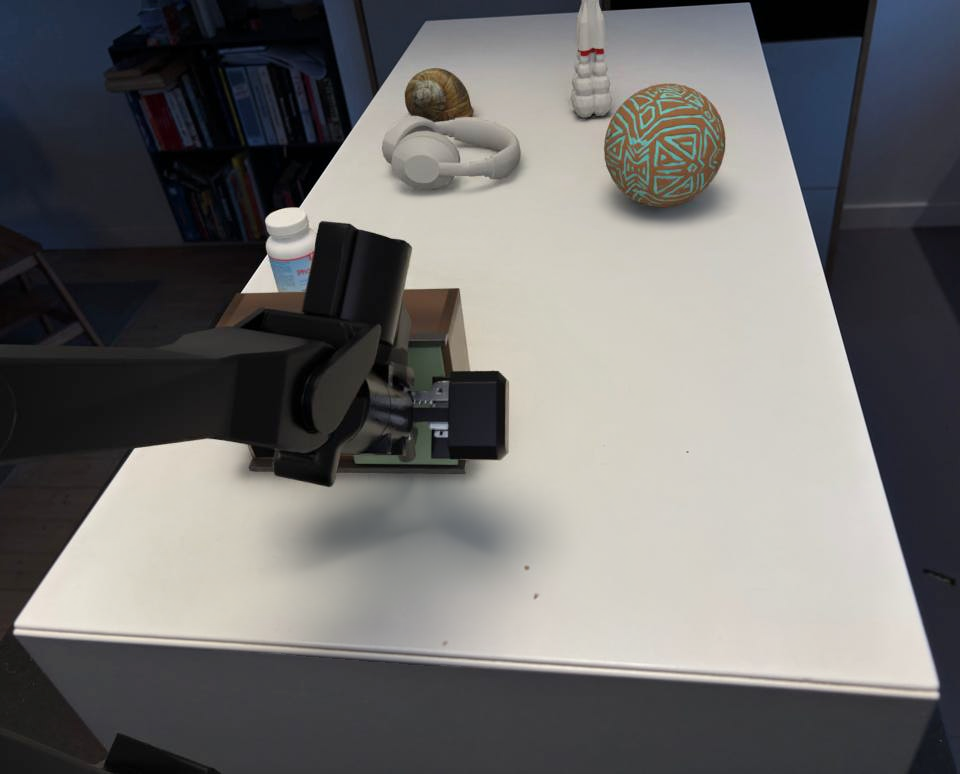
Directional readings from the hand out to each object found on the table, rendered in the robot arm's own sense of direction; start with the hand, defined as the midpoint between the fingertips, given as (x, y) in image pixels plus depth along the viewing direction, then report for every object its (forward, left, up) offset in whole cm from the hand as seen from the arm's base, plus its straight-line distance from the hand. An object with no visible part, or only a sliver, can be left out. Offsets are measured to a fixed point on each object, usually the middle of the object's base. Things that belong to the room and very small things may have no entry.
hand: (405, 423), depth 66 cm
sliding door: (0, +1, -6) cm, 6 cm away
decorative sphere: (+57, -6, -7) cm, 58 cm away
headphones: (+60, +26, -7) cm, 66 cm away
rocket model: (+85, +13, -7) cm, 87 cm away
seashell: (+79, +38, -7) cm, 88 cm away
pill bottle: (+22, +27, -7) cm, 35 cm away
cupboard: (+4, +8, -7) cm, 11 cm away
